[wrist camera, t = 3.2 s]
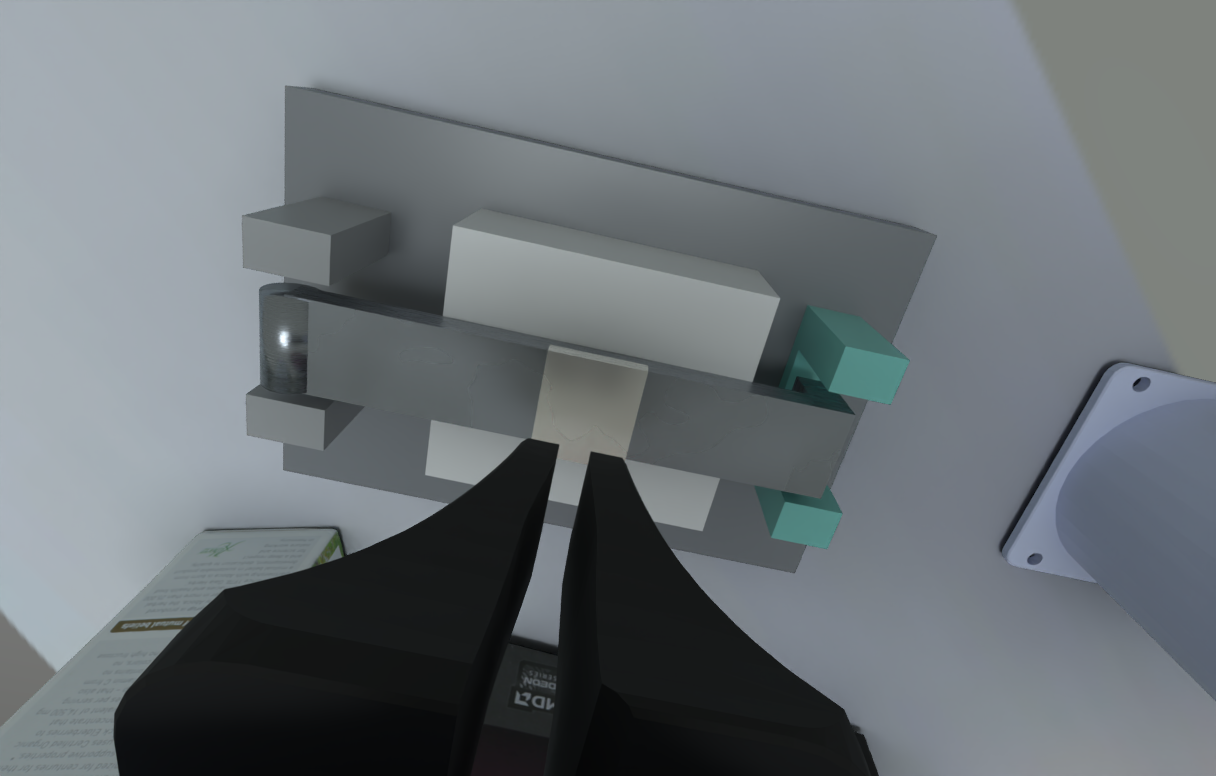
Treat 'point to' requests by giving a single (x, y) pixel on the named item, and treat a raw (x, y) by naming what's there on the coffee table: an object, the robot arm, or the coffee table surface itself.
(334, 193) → the clamp board
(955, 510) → the coffee table surface
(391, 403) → the clamp strap
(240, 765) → the robot arm
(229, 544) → the syrup box
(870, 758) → the graphics card box
